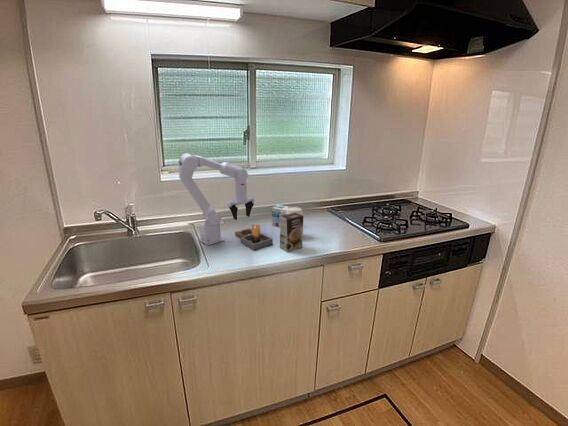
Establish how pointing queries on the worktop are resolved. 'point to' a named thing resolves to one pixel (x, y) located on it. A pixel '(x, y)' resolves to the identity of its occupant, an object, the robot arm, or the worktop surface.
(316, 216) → the worktop surface
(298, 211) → the supplement can
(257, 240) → the cell
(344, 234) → the worktop surface
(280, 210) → the light bulb box
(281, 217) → the coffee box
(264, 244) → the tray
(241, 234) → the brown square shallow dish
